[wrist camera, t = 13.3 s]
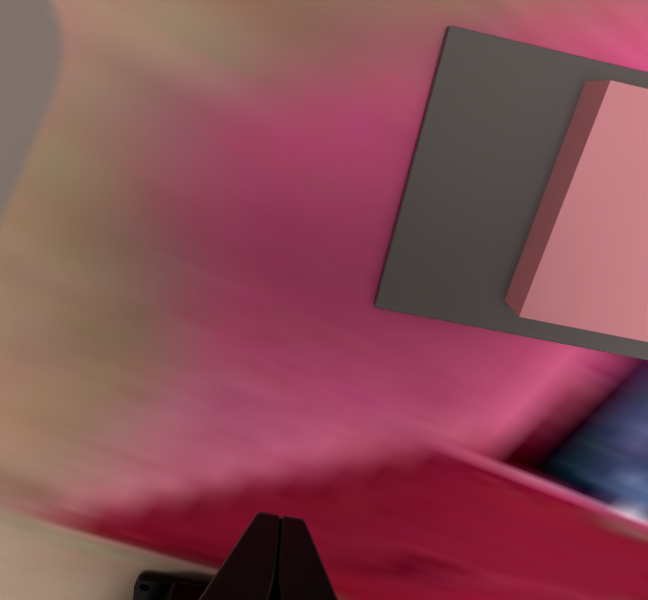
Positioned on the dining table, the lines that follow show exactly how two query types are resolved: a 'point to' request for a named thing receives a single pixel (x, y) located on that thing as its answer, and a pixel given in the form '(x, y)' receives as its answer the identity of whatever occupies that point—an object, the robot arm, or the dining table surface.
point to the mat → (487, 184)
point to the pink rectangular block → (593, 221)
